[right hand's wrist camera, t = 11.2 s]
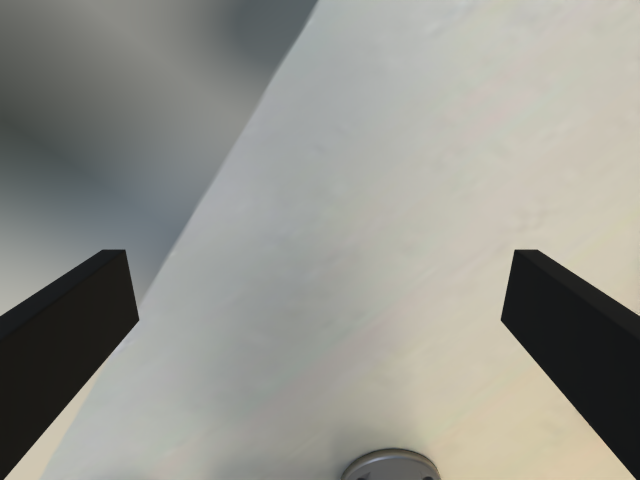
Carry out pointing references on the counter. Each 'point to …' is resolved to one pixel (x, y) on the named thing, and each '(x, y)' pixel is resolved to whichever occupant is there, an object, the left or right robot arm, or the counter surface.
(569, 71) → the counter surface
